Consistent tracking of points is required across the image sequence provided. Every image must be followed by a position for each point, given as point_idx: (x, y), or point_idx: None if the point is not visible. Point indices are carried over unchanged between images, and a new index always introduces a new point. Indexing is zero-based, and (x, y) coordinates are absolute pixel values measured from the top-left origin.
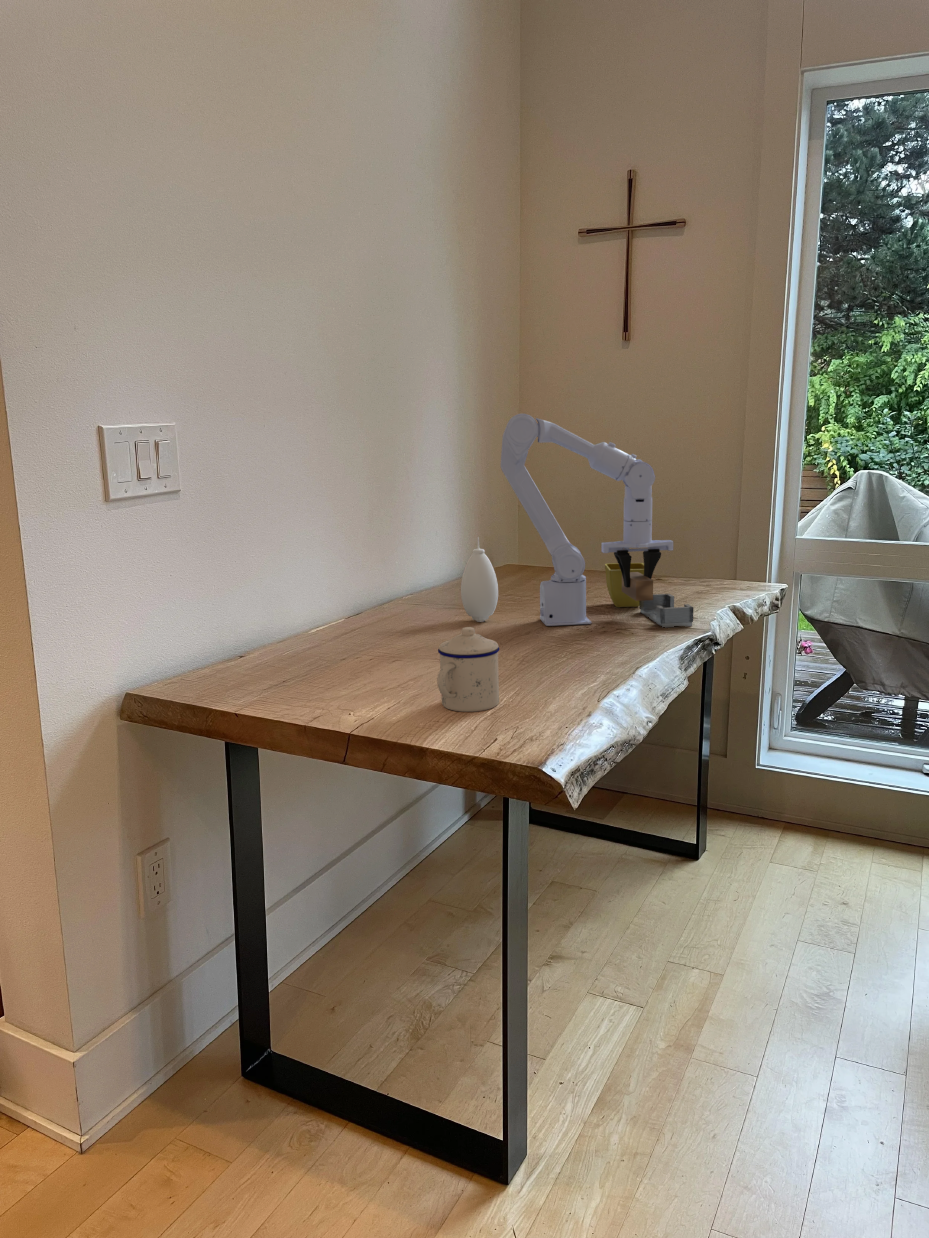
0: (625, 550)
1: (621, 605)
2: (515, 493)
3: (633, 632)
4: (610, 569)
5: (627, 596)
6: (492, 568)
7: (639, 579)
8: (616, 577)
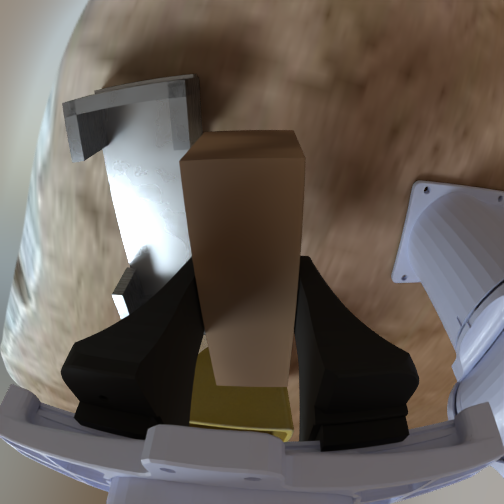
0: (347, 443)
1: None
2: None
3: (320, 27)
4: None
5: None
6: None
7: (261, 219)
8: (272, 409)
